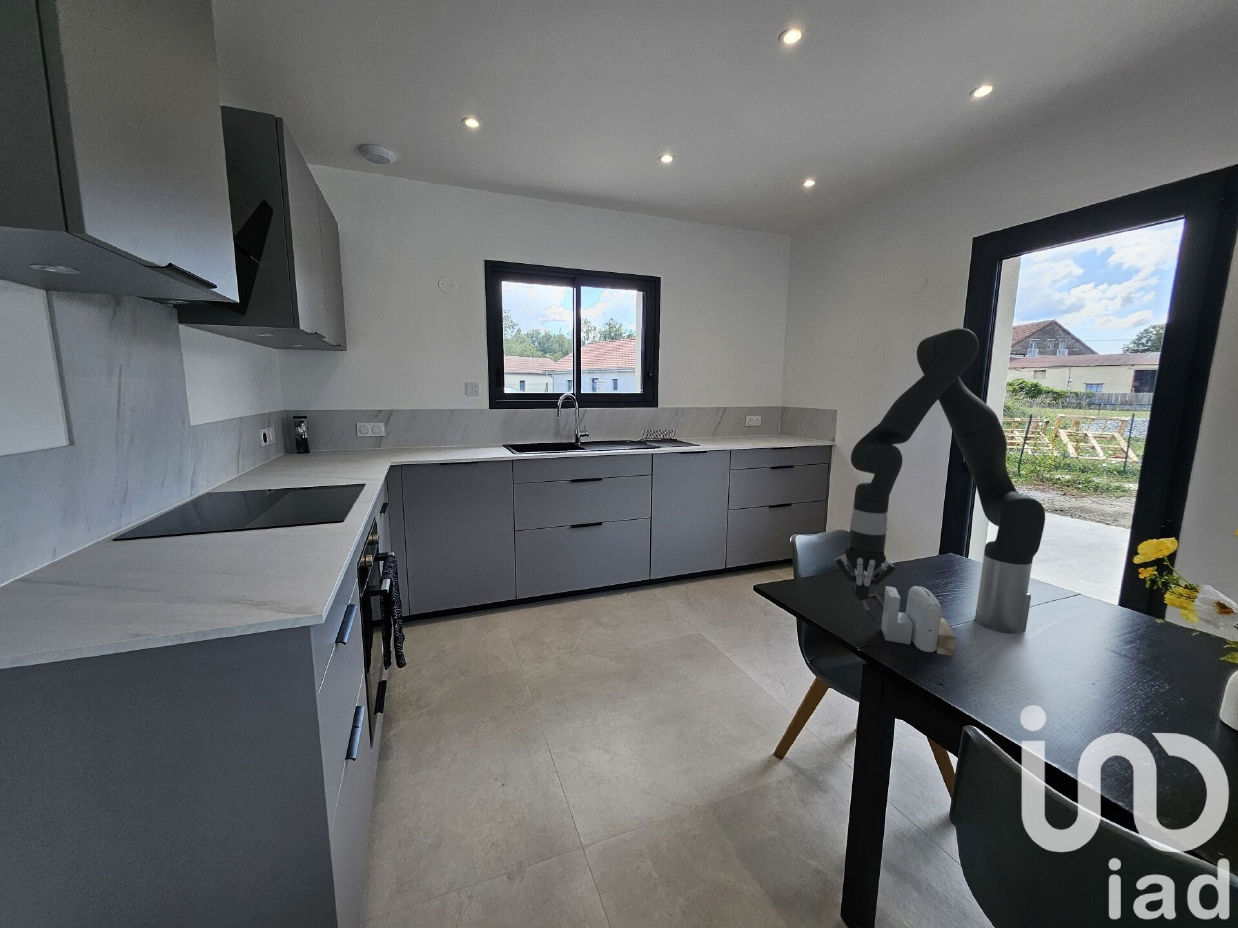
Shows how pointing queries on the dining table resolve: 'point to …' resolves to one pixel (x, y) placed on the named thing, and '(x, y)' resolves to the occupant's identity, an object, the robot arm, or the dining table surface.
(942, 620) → the block
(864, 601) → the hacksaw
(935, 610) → the rounded stone tablet
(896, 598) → the clamp jaw
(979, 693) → the dining table surface
